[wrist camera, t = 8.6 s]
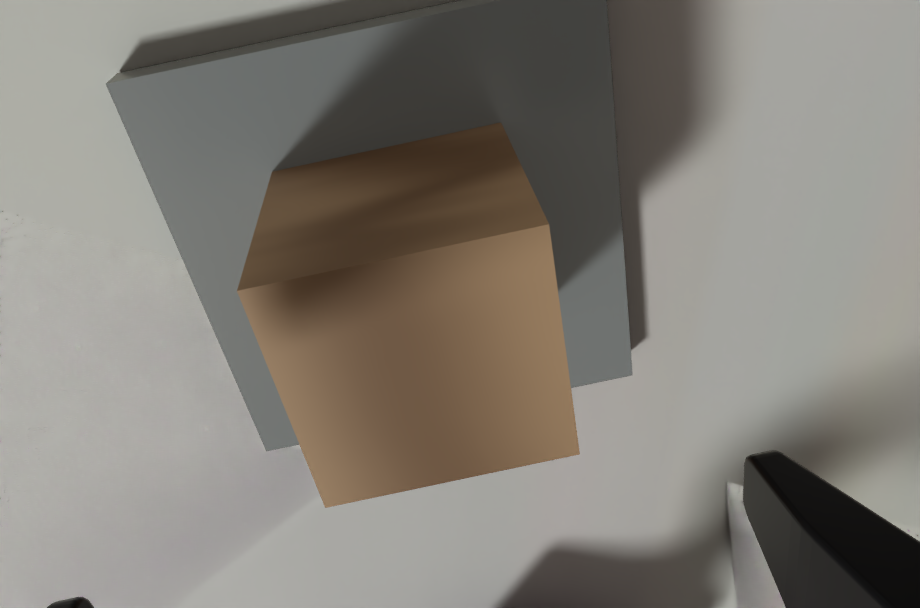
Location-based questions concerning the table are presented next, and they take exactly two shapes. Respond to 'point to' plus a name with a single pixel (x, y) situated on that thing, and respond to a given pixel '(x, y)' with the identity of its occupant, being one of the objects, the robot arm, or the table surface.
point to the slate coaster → (387, 124)
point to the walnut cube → (411, 315)
